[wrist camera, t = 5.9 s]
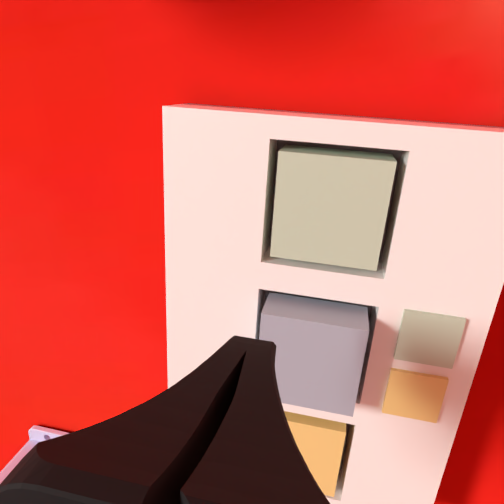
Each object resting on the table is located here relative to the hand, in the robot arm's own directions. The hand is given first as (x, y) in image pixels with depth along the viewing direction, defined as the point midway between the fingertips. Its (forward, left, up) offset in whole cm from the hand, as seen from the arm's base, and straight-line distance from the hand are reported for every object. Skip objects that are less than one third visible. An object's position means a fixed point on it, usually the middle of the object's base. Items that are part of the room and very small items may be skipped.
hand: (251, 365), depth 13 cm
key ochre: (+2, -9, -8) cm, 12 cm away
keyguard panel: (+2, -3, -9) cm, 10 cm away
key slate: (+2, -3, -7) cm, 7 cm away
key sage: (+2, +4, -8) cm, 9 cm away
